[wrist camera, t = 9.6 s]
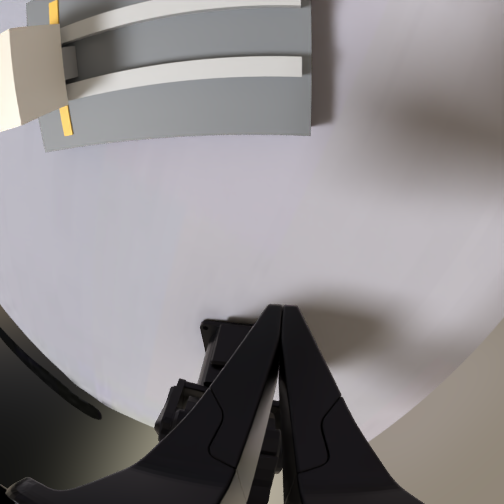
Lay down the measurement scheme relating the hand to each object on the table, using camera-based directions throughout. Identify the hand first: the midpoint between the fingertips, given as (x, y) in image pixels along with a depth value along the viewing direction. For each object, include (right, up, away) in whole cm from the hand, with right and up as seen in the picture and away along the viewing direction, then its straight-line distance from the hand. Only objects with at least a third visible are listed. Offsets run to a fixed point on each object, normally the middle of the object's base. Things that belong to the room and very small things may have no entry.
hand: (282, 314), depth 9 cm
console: (-6, +14, +6) cm, 16 cm away
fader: (-12, +13, +5) cm, 19 cm away
